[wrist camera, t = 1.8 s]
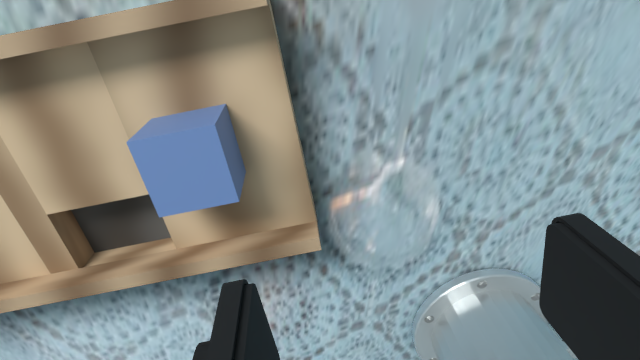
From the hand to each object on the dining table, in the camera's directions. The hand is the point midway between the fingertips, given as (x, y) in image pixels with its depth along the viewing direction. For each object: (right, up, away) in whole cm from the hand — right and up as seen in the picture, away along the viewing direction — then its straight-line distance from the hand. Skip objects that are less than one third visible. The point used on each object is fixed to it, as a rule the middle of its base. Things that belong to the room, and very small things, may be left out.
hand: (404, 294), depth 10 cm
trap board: (-20, +4, +16) cm, 26 cm away
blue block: (-10, +5, +14) cm, 18 cm away
